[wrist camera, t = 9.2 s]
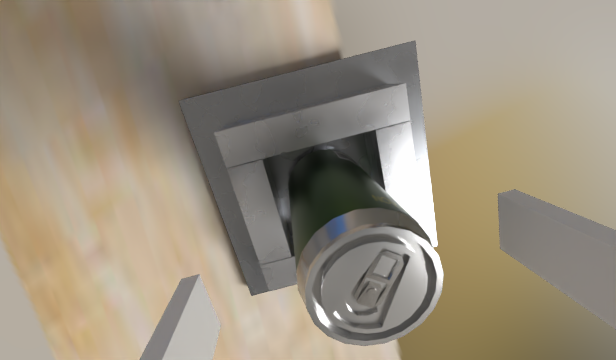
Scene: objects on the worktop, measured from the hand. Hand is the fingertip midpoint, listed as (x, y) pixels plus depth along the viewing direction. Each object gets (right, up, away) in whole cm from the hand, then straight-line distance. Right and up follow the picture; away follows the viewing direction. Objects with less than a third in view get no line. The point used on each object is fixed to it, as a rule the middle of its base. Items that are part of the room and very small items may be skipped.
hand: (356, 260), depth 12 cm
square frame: (-1, +4, +10) cm, 11 cm away
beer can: (-1, +3, +9) cm, 10 cm away
